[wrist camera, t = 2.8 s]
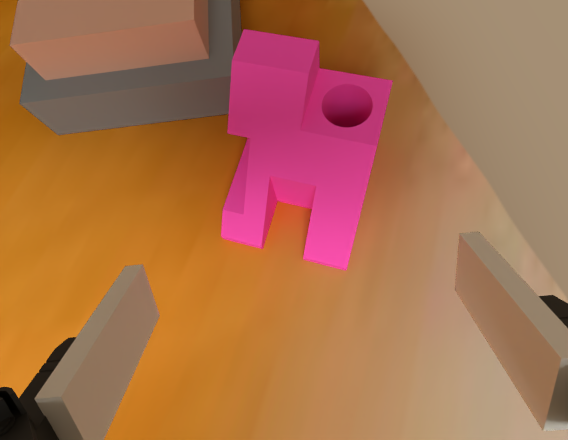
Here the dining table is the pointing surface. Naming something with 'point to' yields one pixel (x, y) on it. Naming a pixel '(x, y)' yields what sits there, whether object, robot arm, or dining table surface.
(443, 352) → the dining table surface
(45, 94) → the two-tone base plate
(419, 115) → the dining table surface
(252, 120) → the bracket
